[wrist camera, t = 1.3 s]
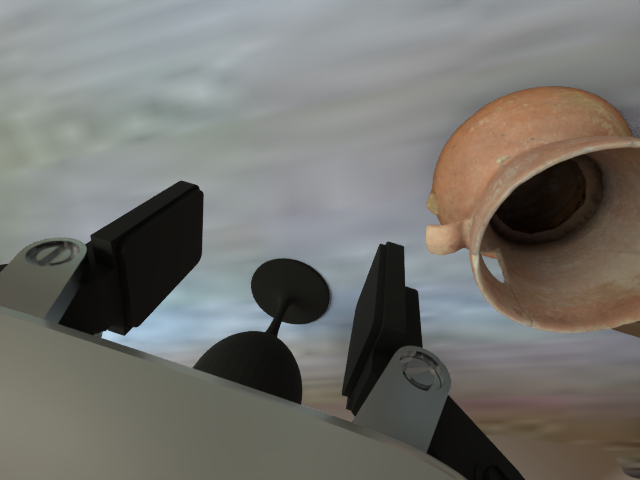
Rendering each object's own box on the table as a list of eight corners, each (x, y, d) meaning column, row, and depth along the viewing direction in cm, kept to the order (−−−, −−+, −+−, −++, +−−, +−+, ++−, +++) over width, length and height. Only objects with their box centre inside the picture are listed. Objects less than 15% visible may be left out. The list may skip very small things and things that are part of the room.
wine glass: (332, 264, 39) (281, 432, 22) (327, 328, 44) (284, 503, 27) (248, 252, 40) (141, 399, 23) (253, 315, 46) (169, 472, 29)
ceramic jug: (422, 249, 35) (439, 353, 23) (406, 108, 29) (419, 154, 17) (624, 226, 31) (777, 344, 19) (660, 52, 24) (935, 58, 12)
